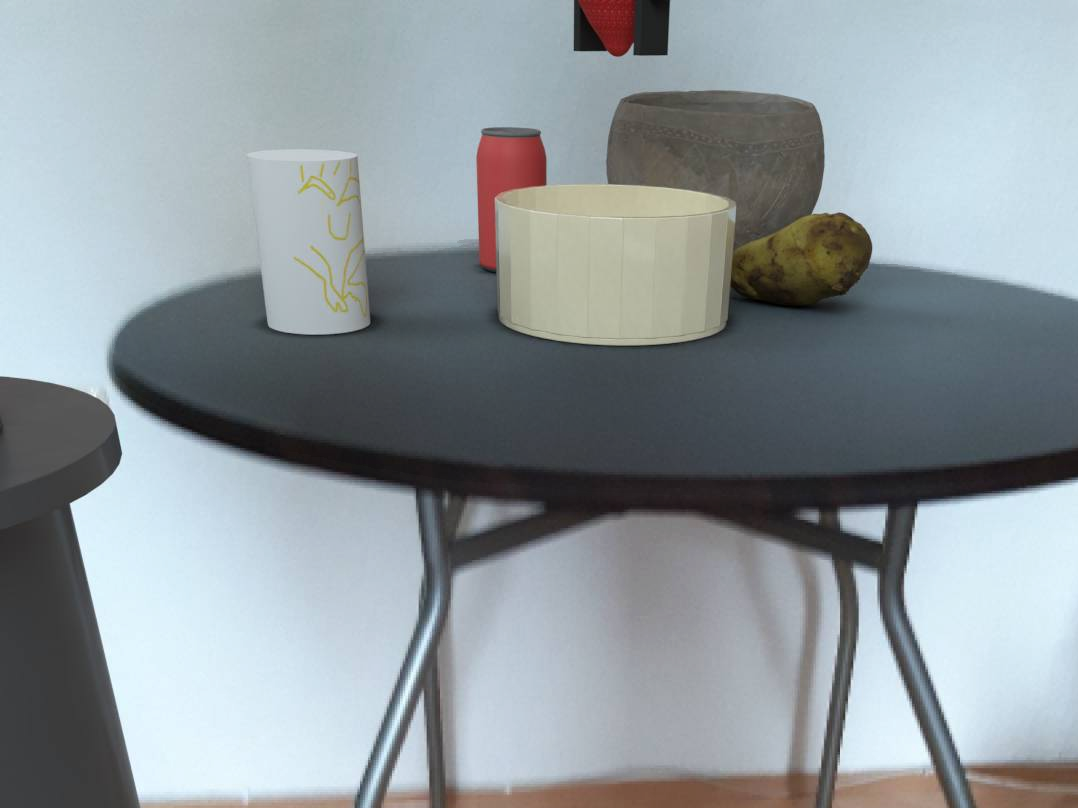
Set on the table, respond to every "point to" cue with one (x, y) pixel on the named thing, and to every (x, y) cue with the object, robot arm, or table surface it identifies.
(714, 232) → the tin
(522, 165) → the beer can
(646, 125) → the bowl
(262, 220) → the cup
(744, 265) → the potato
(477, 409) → the table surface
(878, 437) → the table surface
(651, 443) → the table surface
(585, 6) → the strawberry
